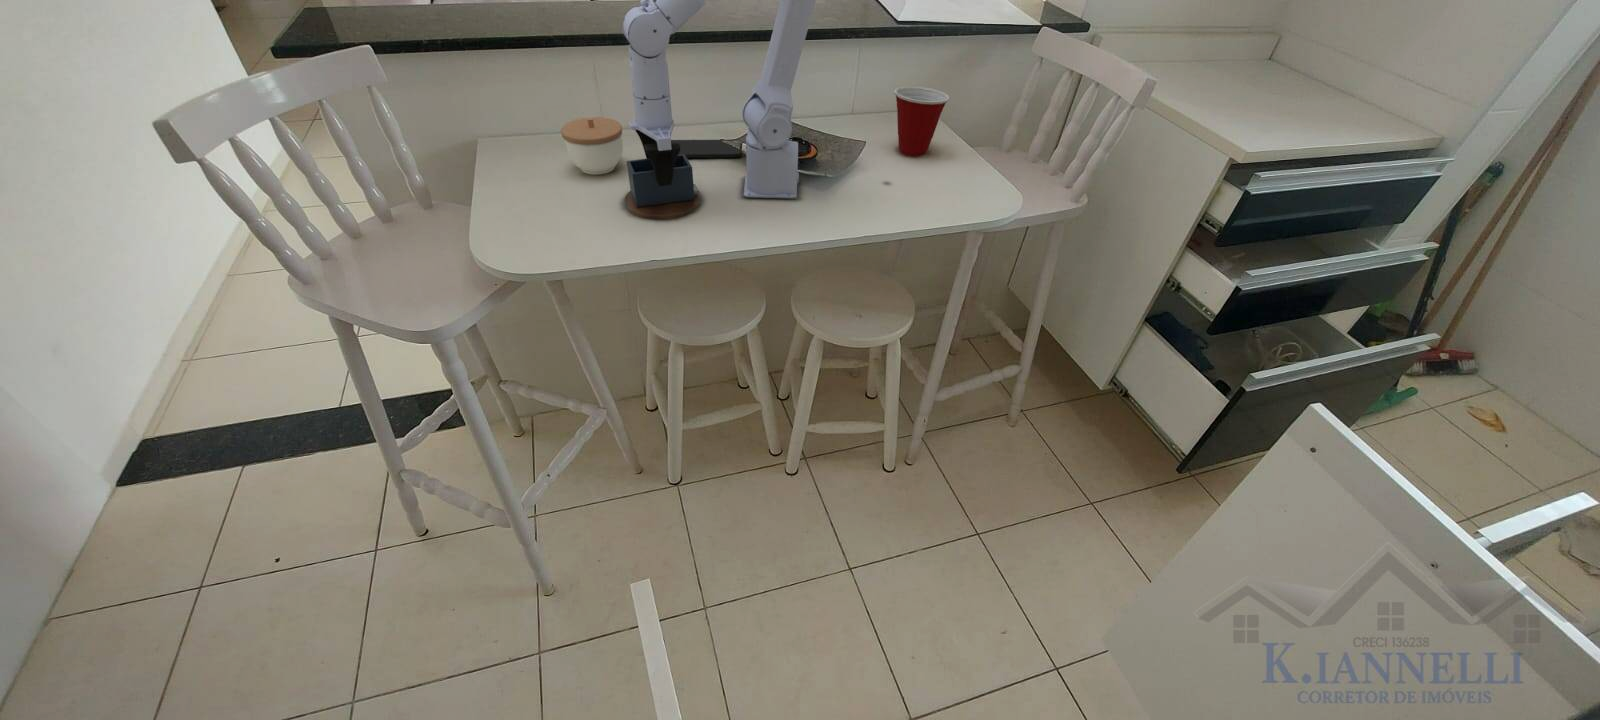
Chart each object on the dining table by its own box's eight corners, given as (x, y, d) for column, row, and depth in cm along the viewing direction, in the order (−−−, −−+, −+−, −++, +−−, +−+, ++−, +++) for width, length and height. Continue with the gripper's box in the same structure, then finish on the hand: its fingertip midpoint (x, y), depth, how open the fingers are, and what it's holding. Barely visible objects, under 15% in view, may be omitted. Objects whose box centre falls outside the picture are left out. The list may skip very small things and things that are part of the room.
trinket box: (613, 183, 121) (605, 133, 115) (558, 176, 122) (547, 126, 116) (636, 159, 129) (629, 111, 123) (584, 153, 130) (575, 105, 124)
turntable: (703, 186, 121) (703, 182, 121) (696, 220, 112) (696, 216, 111) (632, 184, 121) (631, 180, 120) (618, 218, 111) (618, 214, 111)
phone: (741, 154, 131) (664, 154, 129) (741, 158, 131) (664, 158, 129) (739, 139, 136) (665, 139, 134) (739, 143, 137) (665, 143, 135)
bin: (693, 185, 119) (691, 153, 115) (701, 198, 116) (699, 165, 112) (631, 193, 116) (626, 160, 112) (636, 207, 112) (632, 174, 108)
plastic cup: (947, 149, 139) (958, 90, 131) (926, 166, 131) (936, 105, 124) (901, 136, 143) (908, 79, 135) (877, 153, 136) (884, 93, 128)
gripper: (618, 81, 108) (628, 160, 117) (634, 112, 98) (644, 196, 107) (661, 77, 110) (668, 156, 119) (681, 107, 100) (687, 191, 109)
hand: (660, 175), depth 113 cm, fingers open, 7 cm apart
